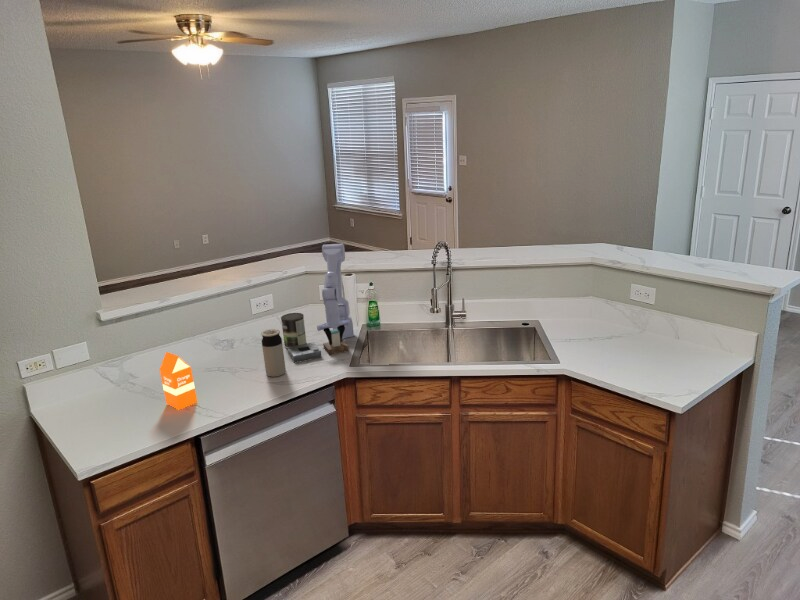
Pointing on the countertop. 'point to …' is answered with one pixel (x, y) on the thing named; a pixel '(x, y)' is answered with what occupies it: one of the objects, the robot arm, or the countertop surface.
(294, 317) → the coffee can
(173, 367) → the orange juice
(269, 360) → the travel mug
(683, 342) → the countertop surface
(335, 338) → the plug
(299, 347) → the port panel
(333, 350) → the wooden square frame
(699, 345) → the countertop surface
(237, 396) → the countertop surface
